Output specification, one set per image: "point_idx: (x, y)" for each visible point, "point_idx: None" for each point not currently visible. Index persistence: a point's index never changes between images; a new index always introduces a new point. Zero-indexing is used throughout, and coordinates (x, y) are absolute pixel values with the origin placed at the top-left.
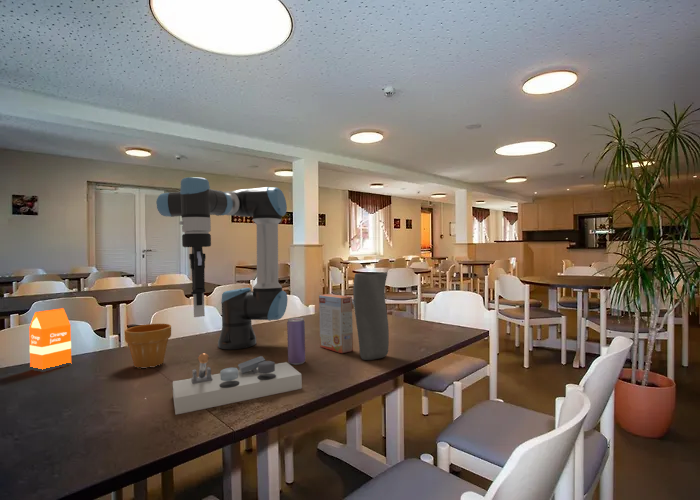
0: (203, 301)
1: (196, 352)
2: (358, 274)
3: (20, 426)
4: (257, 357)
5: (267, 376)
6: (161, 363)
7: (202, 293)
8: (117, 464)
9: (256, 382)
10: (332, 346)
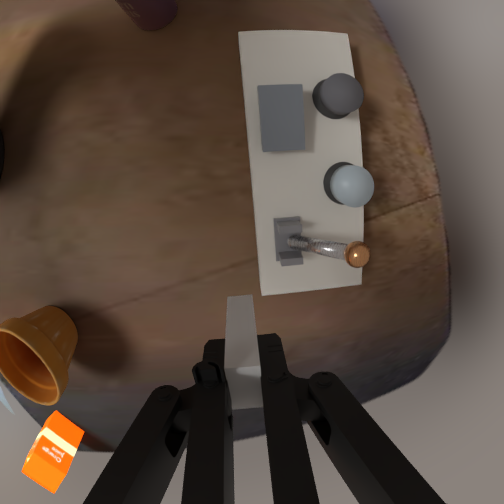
0: (256, 337)
1: (2, 244)
2: None
3: None
4: (261, 97)
5: None
6: (59, 309)
7: (261, 372)
8: (434, 315)
9: (359, 128)
10: None
